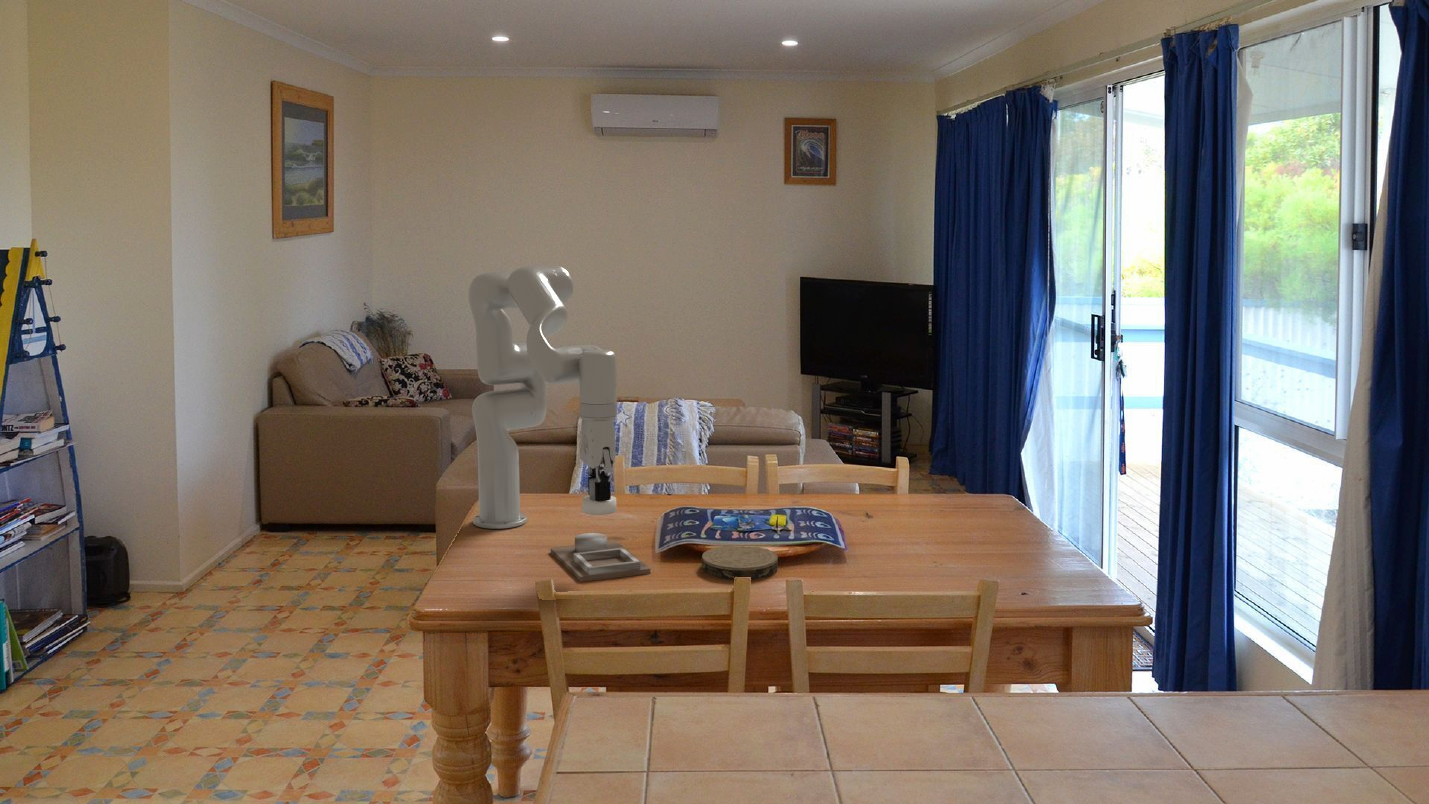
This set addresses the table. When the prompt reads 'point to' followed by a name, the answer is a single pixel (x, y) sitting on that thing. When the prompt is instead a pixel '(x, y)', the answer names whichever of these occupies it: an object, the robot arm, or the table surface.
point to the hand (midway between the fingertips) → (599, 497)
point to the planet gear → (597, 502)
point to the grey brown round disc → (739, 562)
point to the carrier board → (598, 558)
